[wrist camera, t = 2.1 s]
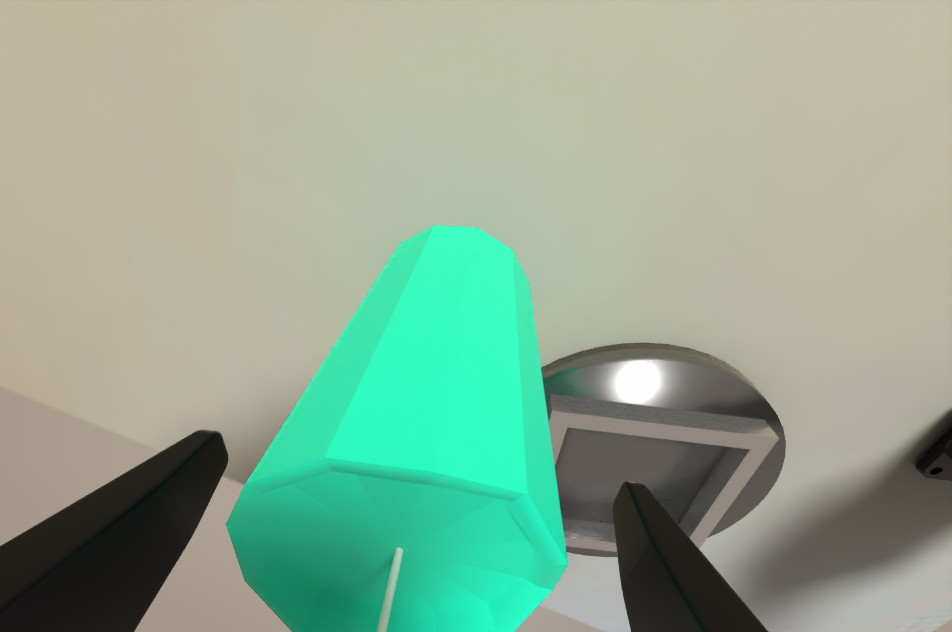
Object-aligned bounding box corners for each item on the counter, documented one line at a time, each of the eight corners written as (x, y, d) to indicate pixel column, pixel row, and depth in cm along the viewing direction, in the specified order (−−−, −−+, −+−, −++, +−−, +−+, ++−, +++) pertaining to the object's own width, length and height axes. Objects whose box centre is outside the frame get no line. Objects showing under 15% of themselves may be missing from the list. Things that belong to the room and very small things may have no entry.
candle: (454, 378, 18) (390, 775, 8) (351, 290, 16) (73, 669, 6) (561, 302, 16) (675, 723, 5) (456, 188, 14) (314, 513, 3)
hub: (832, 364, 16) (876, 401, 15) (699, 548, 24) (716, 588, 22) (501, 323, 16) (501, 355, 14) (467, 521, 23) (464, 559, 22)
